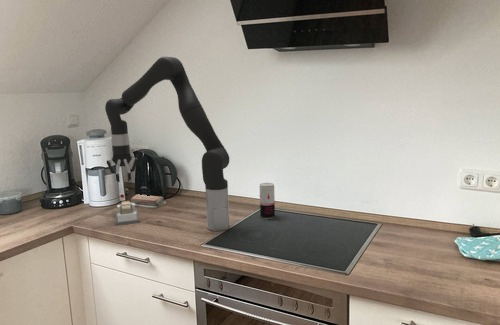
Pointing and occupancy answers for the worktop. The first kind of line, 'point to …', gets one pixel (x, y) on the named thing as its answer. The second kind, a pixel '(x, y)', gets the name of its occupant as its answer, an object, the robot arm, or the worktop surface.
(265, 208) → the beverage can
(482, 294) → the worktop surface
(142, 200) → the packaged product
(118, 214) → the board
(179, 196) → the worktop surface
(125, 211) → the slat
